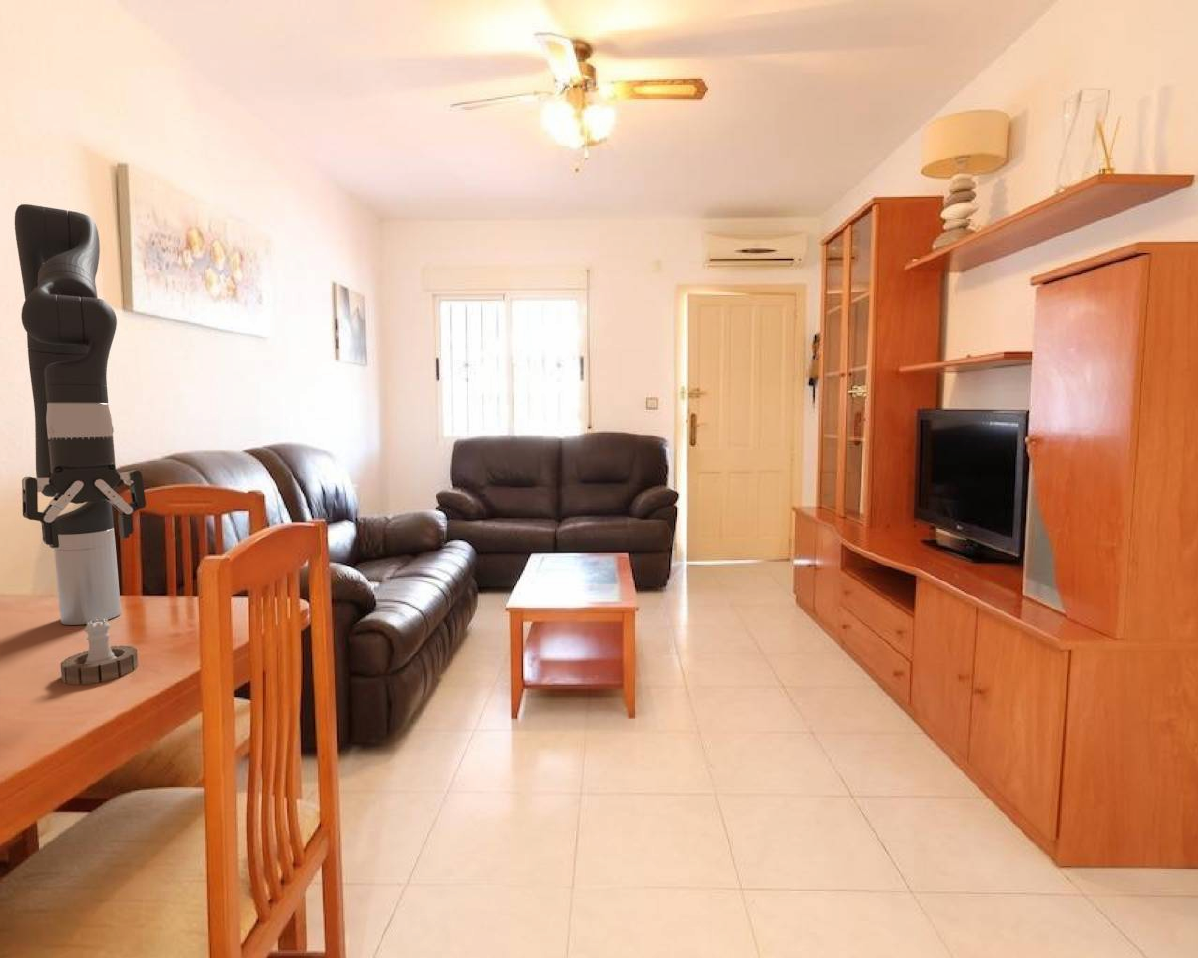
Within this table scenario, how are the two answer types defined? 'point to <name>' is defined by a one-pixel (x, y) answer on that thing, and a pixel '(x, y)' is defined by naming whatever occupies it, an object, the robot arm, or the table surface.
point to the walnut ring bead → (99, 666)
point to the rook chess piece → (98, 642)
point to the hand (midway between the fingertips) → (90, 542)
